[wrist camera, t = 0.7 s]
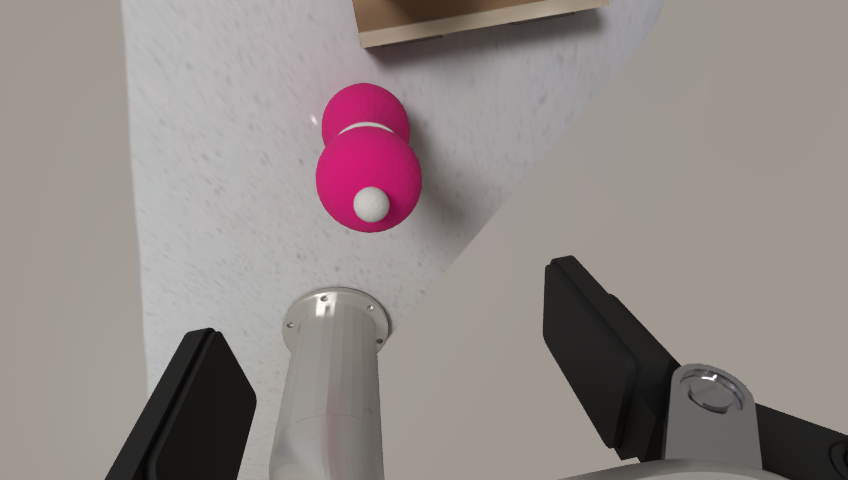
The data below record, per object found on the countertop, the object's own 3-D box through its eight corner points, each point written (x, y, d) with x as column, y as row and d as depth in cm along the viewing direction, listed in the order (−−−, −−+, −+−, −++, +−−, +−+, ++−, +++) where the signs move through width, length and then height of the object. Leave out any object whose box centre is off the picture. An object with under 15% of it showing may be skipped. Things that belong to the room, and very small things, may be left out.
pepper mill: (419, 124, 36) (473, 218, 19) (362, 171, 38) (365, 296, 21) (369, 58, 33) (380, 101, 16) (308, 112, 34) (258, 205, 17)
